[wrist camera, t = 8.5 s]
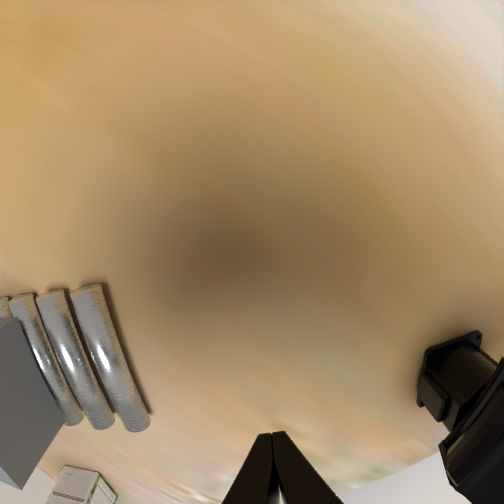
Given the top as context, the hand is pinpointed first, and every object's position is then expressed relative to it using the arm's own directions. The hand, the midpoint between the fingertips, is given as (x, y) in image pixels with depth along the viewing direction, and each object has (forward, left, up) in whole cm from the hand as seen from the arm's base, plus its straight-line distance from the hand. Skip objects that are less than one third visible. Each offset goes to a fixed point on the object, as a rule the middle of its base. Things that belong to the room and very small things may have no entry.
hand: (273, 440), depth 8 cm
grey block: (+22, +3, -9) cm, 24 cm away
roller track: (+17, +3, -12) cm, 21 cm away
